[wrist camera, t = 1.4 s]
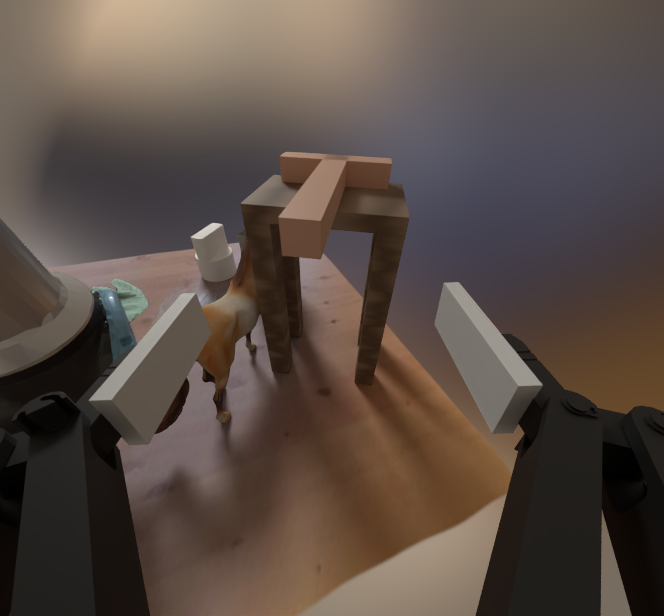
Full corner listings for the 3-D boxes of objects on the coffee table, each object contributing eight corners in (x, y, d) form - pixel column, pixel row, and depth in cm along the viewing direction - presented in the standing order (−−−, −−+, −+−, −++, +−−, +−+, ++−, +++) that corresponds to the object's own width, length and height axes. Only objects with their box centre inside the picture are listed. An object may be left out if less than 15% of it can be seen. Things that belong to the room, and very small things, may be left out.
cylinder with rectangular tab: (214, 261, 76) (202, 221, 68) (242, 266, 74) (233, 225, 67) (194, 278, 69) (178, 235, 62) (225, 284, 68) (212, 241, 60)
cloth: (132, 336, 54) (126, 327, 53) (16, 339, 53) (6, 331, 51) (170, 279, 70) (167, 272, 68) (81, 281, 68) (76, 273, 66)
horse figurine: (266, 312, 60) (251, 225, 47) (298, 320, 58) (291, 232, 45) (159, 449, 37) (71, 356, 24) (206, 468, 36) (139, 380, 22)
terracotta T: (214, 248, 21) (203, 210, 19) (287, 175, 37) (286, 151, 35) (393, 266, 20) (401, 227, 18) (387, 183, 36) (391, 158, 34)
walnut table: (272, 371, 48) (240, 203, 28) (289, 325, 57) (274, 174, 38) (371, 385, 46) (409, 217, 27) (372, 335, 56) (401, 184, 36)
